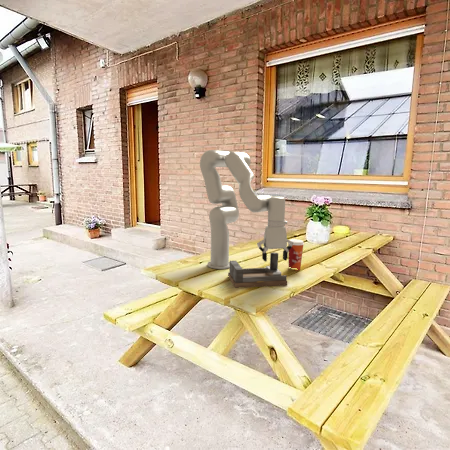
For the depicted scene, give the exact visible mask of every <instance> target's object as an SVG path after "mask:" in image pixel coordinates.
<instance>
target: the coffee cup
mask: <svg viewBox="0 0 450 450" xmlns="http://www.w3.org/2000/svg"><path fill="white" fill-rule="evenodd" d="M289 240H290V241H292V242H293V243H294V244H293V245H292V248H291V249H290V250H289V252H288V268H289V267H291V268H297V269H298V270H297V271H300V270H301V268H302V267H301V265H302V258H303V251H304V245H305V243H304V240H302V239H294V238H293V239H292V238H291V239H289ZM288 245H289V243H288V242H287V246H288Z"/></svg>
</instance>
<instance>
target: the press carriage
mask: <svg viewBox="0 0 450 450" xmlns="http://www.w3.org/2000/svg"><path fill="white" fill-rule="evenodd" d="M269 257H270V258H269V259H270V260H269V265H266V266H265V268H266V273H267V274H268V275H269V276H280V275H282V271H281V270H280V269H278V267H279V266H278V265H279V253H278V252H270V254H269Z"/></svg>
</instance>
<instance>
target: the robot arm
mask: <svg viewBox="0 0 450 450" xmlns="http://www.w3.org/2000/svg"><path fill="white" fill-rule="evenodd" d="M251 162H252V161H251V157H250V156H249V155H248V153H246V152H241V151H232V150H220V149H209V150H206V151H205V152H203V153H202V155H201V157H200V161H199V167H200V172H201V175H202V177H203V181H204V187H205V190H206V195H207V199H208V201H209V203H211V205H219V204H221V205H219V206H215V207H213V208H212V209H211V210H210V211H209V214H208V217H209V218H208V219H209V224H210V261H209V262H207V267H209V268H210V269H215V270H226V269H230V259H229V257H230V256H229V255H230V231H229V227H228V224H232V223H235V222H236V221H238V219H239V216H240V210H239V206H238V202H237V201H238V200H237V197H236V193H235V190H234V189H233V187H231V186H230V185H227V184H223V183H222V179H221V175H220V173H219V172H218V170H217V169H216V168H227V169H228V170H229V172H230V173H231V174H232V176H233V178H234V180H235V181H236V182H237V184H238V192H239V198H240V199H241V201H242V202H243V204H244V206H245V207H246V208H247V209H248V210H249V211H250V212H252V213H255V214H256V213H263V212H267V225H266V226H265V228H264V236H263V239H262V240H260V241H258V242H256V245H257V247H258V249H259V250H260V251H261V252H262V257H261V258H262V260H263V262H267V261H268V257H267V256H268V254H267V252H268V251H269V250H274V249H276V250H277V249H278V250H279V249H280V250H281V249H283V251H282V260H284V261H285V262H286V261H287V260H288V259H289V253H288V252H289V250H290V249H291V248H292V245H293V244H294V243H293V242H292V241H290V240H291V239H288V236H287V235H288V233H287V228H286V226H285V225H288V221H287V220H286V217H285V216H286V215H285V214H286V199H285V197H283V196H276V195H275V196H274V195H273V196H272V195H268V194H263V195H262V194H261V195H257V194H256V193H255V192H254V190H253V188H252V185H251V182H252V180H253V179H254V177H255V175H254V173H253V171H252V170H251V168H250V166H251ZM288 243H289V245H288ZM262 245H263V247H262Z"/></svg>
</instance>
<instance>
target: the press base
mask: <svg viewBox="0 0 450 450" xmlns="http://www.w3.org/2000/svg"><path fill="white" fill-rule="evenodd" d="M229 262H230V268H229V271H228V272H227V277H228V276H229V277H228V278H230V279H229V280H230V282H231V284H232V286H233V288H234V289H240V288H239V287H244V288H257V287H258V288H259V287H261V288H262V287H280V286H288V280H287V279H288V277H287V275H285V274H284V275H282V274H281V275H280V276H269V275H268V274H267V273H266V267H254V268H253V267H251V268H242V266H241V265H240V264H239V262H238V261H237V260H229Z"/></svg>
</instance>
